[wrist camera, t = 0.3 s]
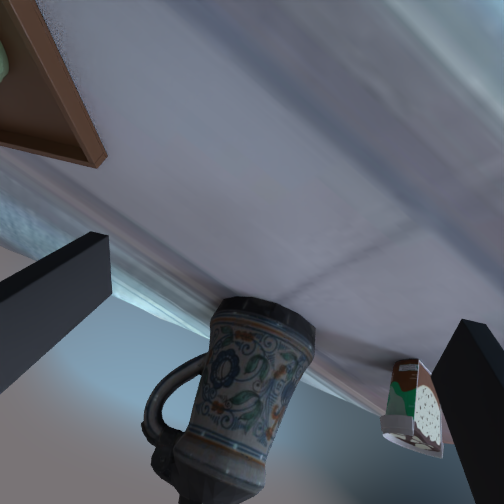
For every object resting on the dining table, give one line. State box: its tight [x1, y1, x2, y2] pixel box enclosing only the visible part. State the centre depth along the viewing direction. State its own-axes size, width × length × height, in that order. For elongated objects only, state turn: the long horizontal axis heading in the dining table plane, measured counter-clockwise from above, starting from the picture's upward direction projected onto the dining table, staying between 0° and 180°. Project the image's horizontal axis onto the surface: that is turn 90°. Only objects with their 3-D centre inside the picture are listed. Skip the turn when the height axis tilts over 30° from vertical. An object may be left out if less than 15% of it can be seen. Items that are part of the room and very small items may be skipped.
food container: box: [380, 359, 444, 458], centre depth 47 cm, size 12×6×10 cm, turn 41°
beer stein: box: [141, 297, 315, 504], centre depth 46 cm, size 16×19×25 cm
